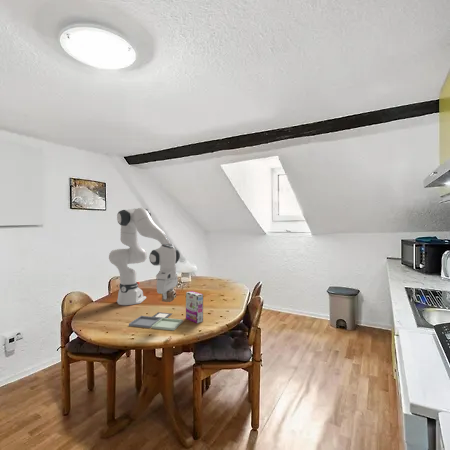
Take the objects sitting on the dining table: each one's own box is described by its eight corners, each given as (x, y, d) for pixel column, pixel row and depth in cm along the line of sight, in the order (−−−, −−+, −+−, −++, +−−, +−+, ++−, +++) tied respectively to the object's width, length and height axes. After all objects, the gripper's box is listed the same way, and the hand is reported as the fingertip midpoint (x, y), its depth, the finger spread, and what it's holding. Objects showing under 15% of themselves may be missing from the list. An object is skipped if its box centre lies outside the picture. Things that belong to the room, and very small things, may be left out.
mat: (158, 312, 177) (158, 312, 177) (172, 314, 175) (172, 313, 175) (150, 318, 167) (150, 317, 167) (165, 319, 165) (165, 318, 165)
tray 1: (141, 318, 167) (141, 315, 167) (161, 320, 164) (161, 317, 164) (128, 326, 155) (128, 323, 154) (150, 328, 151) (150, 325, 151)
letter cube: (165, 298, 159) (165, 289, 159) (173, 299, 158) (173, 290, 158) (161, 301, 154) (161, 292, 154) (170, 302, 153) (170, 292, 153)
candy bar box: (203, 321, 162) (203, 294, 162) (197, 324, 158) (197, 295, 158) (192, 317, 170) (192, 290, 170) (185, 319, 166) (185, 292, 166)
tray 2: (162, 320, 164) (162, 317, 164) (183, 322, 161) (183, 319, 161) (151, 328, 151) (151, 325, 151) (173, 331, 148) (173, 328, 148)
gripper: (170, 269, 167) (170, 292, 167) (154, 276, 147) (154, 302, 147) (180, 270, 165) (180, 292, 166) (165, 277, 145) (165, 303, 146)
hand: (167, 297), depth 156 cm, fingers closed on letter cube, 5 cm apart
